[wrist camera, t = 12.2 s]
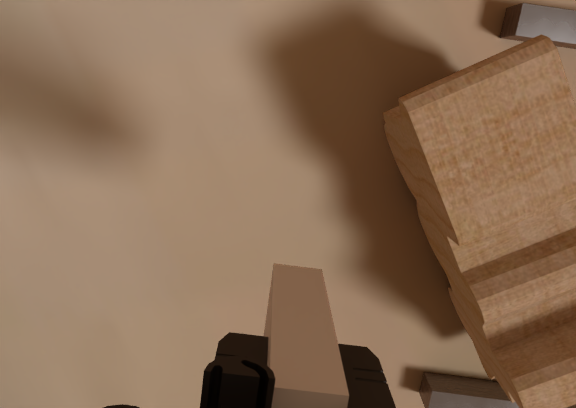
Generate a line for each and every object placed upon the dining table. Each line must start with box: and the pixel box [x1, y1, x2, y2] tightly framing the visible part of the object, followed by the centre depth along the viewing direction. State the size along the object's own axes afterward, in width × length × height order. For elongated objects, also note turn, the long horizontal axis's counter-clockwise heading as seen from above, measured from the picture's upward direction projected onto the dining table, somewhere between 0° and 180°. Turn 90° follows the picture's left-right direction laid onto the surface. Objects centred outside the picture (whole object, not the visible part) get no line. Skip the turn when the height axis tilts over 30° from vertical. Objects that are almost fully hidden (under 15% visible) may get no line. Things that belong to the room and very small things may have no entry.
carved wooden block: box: [383, 34, 576, 408], centre depth 25 cm, size 6×17×10 cm, turn 24°
